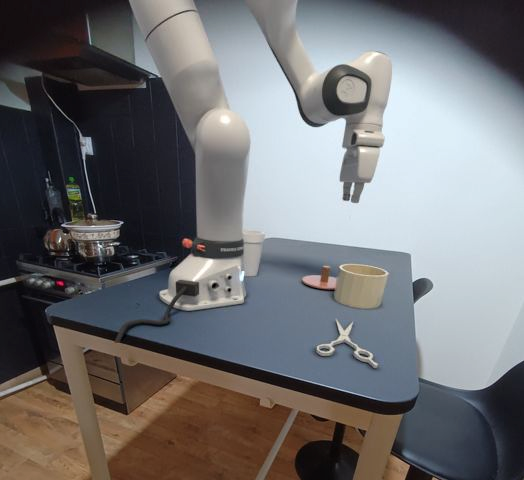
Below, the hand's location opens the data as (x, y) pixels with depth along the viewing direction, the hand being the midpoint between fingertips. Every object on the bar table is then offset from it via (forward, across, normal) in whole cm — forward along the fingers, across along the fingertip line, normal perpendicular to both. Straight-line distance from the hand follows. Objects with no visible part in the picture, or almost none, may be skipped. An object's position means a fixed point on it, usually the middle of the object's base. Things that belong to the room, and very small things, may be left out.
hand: (349, 201), depth 85 cm
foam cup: (+24, -10, -27) cm, 37 cm away
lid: (+23, -3, -3) cm, 24 cm away
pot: (+24, +11, +4) cm, 26 cm away
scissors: (+24, +36, -5) cm, 44 cm away
